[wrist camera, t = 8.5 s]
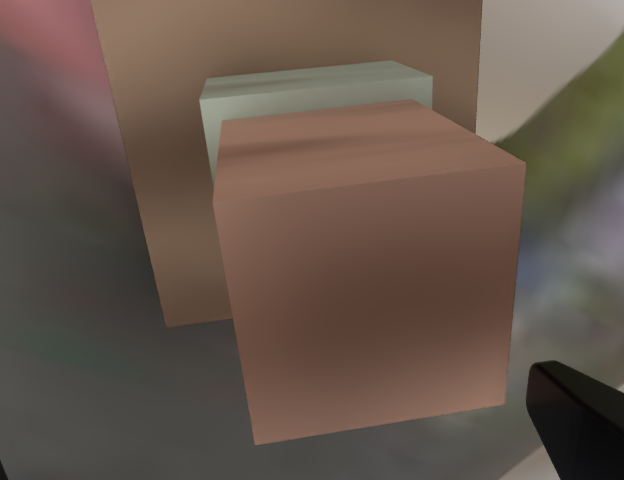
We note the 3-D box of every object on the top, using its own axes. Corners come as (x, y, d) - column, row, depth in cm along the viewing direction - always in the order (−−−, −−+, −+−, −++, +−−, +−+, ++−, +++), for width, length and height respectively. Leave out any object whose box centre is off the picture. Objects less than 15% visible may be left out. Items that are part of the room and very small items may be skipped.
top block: (413, 267, 16) (504, 404, 11) (248, 289, 16) (255, 445, 10) (413, 99, 14) (526, 162, 8) (221, 120, 13) (212, 202, 8)
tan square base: (457, 274, 22) (514, 344, 18) (169, 313, 21) (151, 398, 17) (471, -49, 17) (556, -66, 13) (93, -18, 16) (38, -25, 12)
